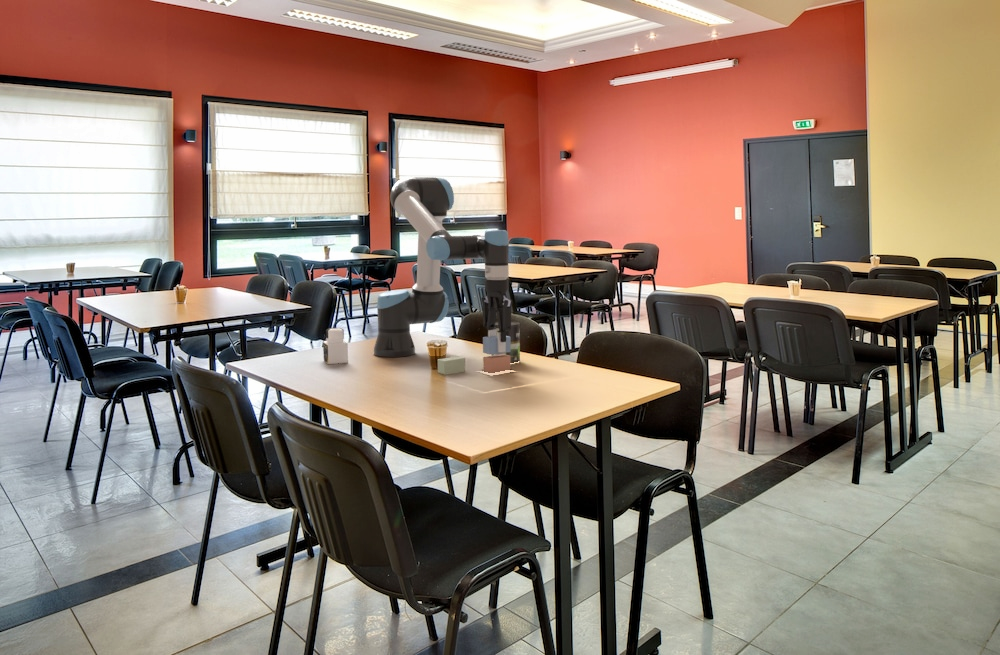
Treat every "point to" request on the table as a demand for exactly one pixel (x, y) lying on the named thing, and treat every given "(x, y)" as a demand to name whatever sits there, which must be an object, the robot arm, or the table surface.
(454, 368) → the green brick
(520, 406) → the table surface
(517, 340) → the coffee can
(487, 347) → the blue brick
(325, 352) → the medicine bottle
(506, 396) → the table surface
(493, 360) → the terracotta brick
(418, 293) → the robot arm
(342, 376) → the table surface
